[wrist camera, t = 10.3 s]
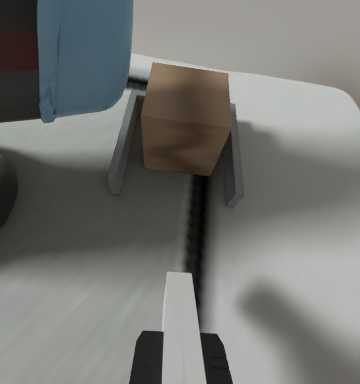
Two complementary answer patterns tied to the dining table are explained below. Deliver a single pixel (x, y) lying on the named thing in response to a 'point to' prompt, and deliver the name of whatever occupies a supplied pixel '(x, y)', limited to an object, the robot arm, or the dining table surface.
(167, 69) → the walnut block
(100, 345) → the dining table surface
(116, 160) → the grey u-shaped frame
